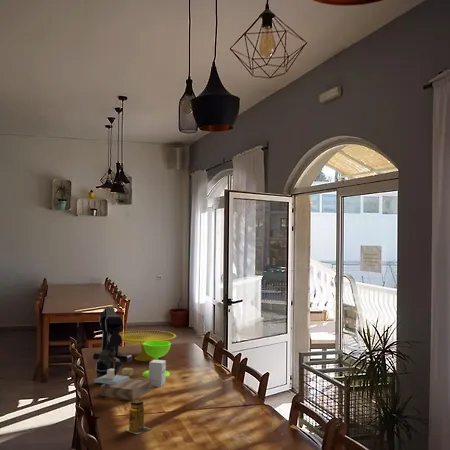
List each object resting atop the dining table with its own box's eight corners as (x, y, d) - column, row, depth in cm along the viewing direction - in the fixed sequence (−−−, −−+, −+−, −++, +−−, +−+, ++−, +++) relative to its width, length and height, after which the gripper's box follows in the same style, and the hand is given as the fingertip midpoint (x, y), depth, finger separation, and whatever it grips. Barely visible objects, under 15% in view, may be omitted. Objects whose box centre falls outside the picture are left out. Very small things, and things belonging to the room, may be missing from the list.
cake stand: (172, 366, 341) (173, 342, 341) (107, 364, 341) (108, 340, 342) (179, 352, 381) (179, 330, 381) (120, 351, 382) (121, 329, 382)
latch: (121, 374, 293) (121, 369, 293) (125, 373, 296) (125, 367, 296) (129, 375, 291) (129, 370, 291) (132, 374, 295) (133, 368, 295)
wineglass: (136, 376, 316) (137, 344, 317) (150, 370, 331) (151, 339, 332) (161, 379, 310) (162, 347, 311) (174, 373, 325) (175, 342, 326)
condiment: (124, 430, 229) (125, 401, 230) (140, 425, 236) (141, 396, 236) (136, 434, 225) (137, 405, 225) (151, 429, 231) (152, 400, 231)
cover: (94, 382, 262) (94, 371, 262) (107, 376, 274) (107, 365, 274) (116, 384, 258) (116, 373, 258) (129, 378, 270) (129, 368, 270)
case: (100, 395, 277) (101, 383, 277) (119, 386, 294) (119, 374, 294) (132, 400, 271) (133, 387, 271) (149, 390, 288) (150, 378, 288)
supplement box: (161, 387, 295) (162, 363, 295) (148, 385, 297) (148, 362, 297) (165, 383, 302) (166, 360, 303) (152, 382, 304) (153, 359, 304)
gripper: (86, 343, 262) (85, 376, 262) (121, 347, 256) (120, 381, 255) (99, 339, 272) (98, 371, 272) (133, 342, 266) (132, 375, 266)
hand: (112, 375), depth 266 cm, fingers closed on cover, 3 cm apart
